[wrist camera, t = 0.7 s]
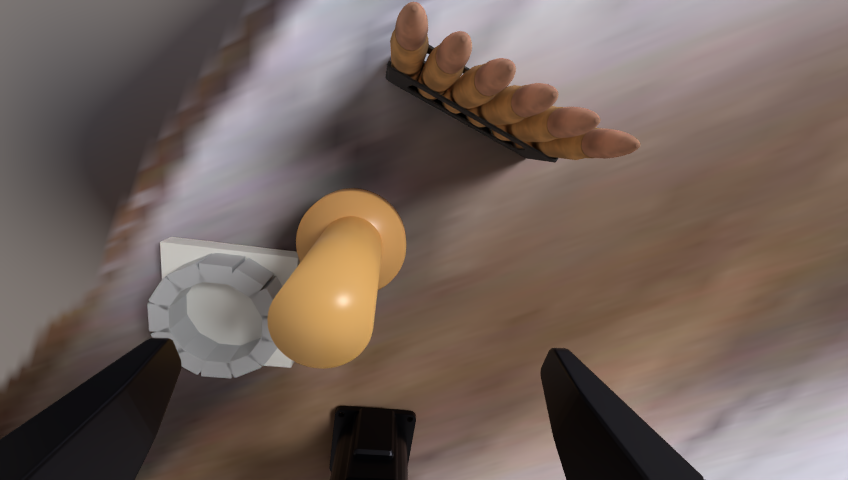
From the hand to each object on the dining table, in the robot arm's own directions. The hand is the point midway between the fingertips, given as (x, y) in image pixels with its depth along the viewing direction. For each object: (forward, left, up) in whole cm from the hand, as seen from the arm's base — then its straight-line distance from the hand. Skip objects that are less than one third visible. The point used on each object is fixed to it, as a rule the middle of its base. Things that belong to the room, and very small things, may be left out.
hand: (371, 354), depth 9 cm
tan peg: (-1, +2, -17) cm, 17 cm away
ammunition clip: (+8, -4, -17) cm, 19 cm away
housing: (-8, +10, -17) cm, 21 cm away
